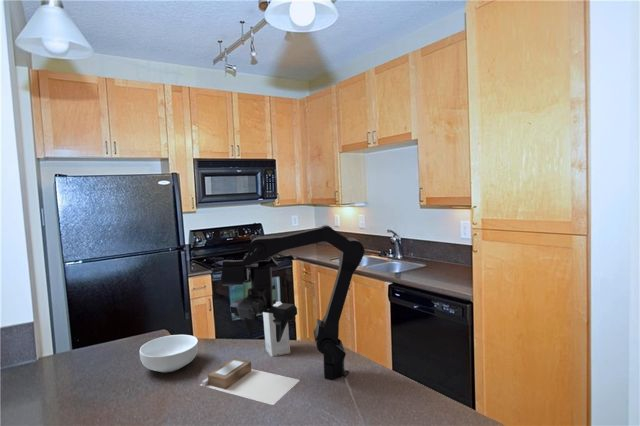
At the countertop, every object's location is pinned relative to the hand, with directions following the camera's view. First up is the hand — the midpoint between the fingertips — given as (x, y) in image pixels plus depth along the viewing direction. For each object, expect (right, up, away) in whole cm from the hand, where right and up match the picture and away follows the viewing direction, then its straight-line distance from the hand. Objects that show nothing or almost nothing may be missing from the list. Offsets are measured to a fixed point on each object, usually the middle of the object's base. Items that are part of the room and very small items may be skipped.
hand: (264, 339), depth 105 cm
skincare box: (+1, -11, +20) cm, 22 cm away
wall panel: (-4, -12, -1) cm, 13 cm away
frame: (-10, -12, +2) cm, 15 cm away
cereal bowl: (-31, -13, +13) cm, 35 cm away
